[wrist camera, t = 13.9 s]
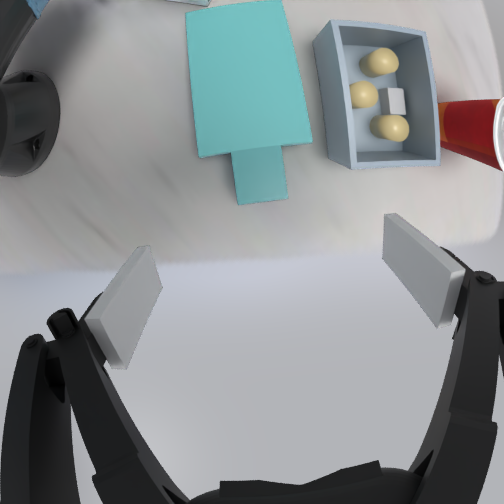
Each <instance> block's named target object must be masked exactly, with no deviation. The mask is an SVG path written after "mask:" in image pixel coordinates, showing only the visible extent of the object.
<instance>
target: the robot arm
mask: <svg viewBox="0 0 504 504" xmlns="http://www.w3.org/2000/svg"><path fill="white" fill-rule="evenodd" d="M48 1H49V0H0V176H9V177H16V176H21V175H23V174H26V173H29V172H31V171H33V170H35V169H36V168H38V167H39V166H40V165H41V164H42V163H43V162H44V160H45V159H46V158H47V156H48V154H49V153H50V151H51V149H52V146H53V144H54V141H55V138H56V135H57V131H58V126H59V116H60V107H59V99H58V94H57V91H56V88H55V86H54V84H53V82H52V81H51V80H50V78H49V77H48V76H46V75H45V74H43V73H41V72H37V71H20V72H16V73H14V74H11V75H9V76H6V77H4V78H3V76H4V74H5V72H6V70H7V68H8V66H9V64H10V62H11V60H12V58H13V56H14V54H15V53H16V51H17V49H18V47H19V46H20V44H21V42H22V41H23V39H24V37H25V36H26V34H27V33H28V31H29V30H30V28H31V27H32V25H33V24H34V22H35V21H36V19H37V20H38V18H39V17H40V16H41V12H42V10H43V9H44V7H45V6H46V4H47V3H48ZM382 259H383V260H384V261H385V263H386V264H387V265H388V266H389V267H390V269H391V270H392V271H393V272H394V273H395V275H396V276H397V277H398V278H399V280H400V281H401V282H402V283H403V285H404V286H405V287H406V288H407V290H408V291H409V292H410V293H411V295H412V296H413V297H414V299H415V300H416V301H417V302H418V304H419V305H420V307H421V308H422V309H423V311H424V312H425V313H426V314H427V316H428V317H429V319H430V320H431V321H432V323H433V324H434V325H435V327H436V328H437V329H440V328H443V327H446V326H449V325H451V322H452V319H453V316H454V314H455V315H456V316H457V317H458V323H457V326H456V329H455V332H454V335H453V337H452V339H453V340H454V341H453V346H452V351H451V355H450V360H449V364H448V368H447V371H446V375H445V379H444V383H443V386H442V389H441V393H440V396H439V399H438V402H437V405H436V409H435V411H434V414H433V417H432V420H431V423H430V425H429V428H428V431H427V433H426V436H425V438H424V441H423V443H422V445H421V448H420V450H419V452H418V454H417V456H416V458H415V460H414V462H413V463H412V465H411V466H410V468H409V470H408V471H406V470H403V469H397V468H381V467H380V464H379V461H378V460H377V461H373V462H370V463H365V464H362V465H358V466H354V467H349V468H344V469H340V470H338V471H336V472H334V473H331V474H329V475H327V476H324V477H322V478H319V479H317V480H314V481H311V482H309V483H306V484H303V485H294V484H283V483H276V482H269V481H262V480H250V481H220V489H217V490H213V491H210V492H207V493H204V494H202V495H199V496H197V497H195V498H193V499H192V500H189V499H188V498H187V497H186V496H185V495H184V494H183V493H182V492H181V490H180V489H179V488H178V487H177V486H176V485H175V484H174V482H173V481H172V480H171V479H170V477H169V475H168V474H167V473H166V471H165V470H164V469H163V467H162V466H161V465H160V463H159V461H158V460H157V459H156V457H155V456H154V454H153V453H152V451H151V450H150V448H149V447H148V445H147V443H146V442H145V440H144V439H143V437H142V435H141V434H140V432H139V431H138V429H137V427H136V426H135V424H134V422H133V420H132V419H131V417H130V415H129V413H128V412H127V410H126V408H125V406H124V404H123V403H122V401H121V399H120V397H119V395H118V393H117V391H116V389H115V387H114V385H113V383H112V381H111V379H110V377H109V375H108V373H107V371H106V369H105V368H104V366H103V365H104V363H105V361H106V360H107V361H108V363H109V364H110V366H111V368H112V369H127V367H128V365H129V363H130V360H131V358H132V355H133V353H134V350H135V348H136V346H137V343H138V341H139V339H140V336H141V334H142V332H143V330H144V327H145V325H146V323H147V320H148V318H149V316H150V313H151V311H152V309H153V307H154V305H155V303H156V301H157V298H158V296H159V294H160V292H161V290H162V288H163V287H162V284H161V281H160V278H159V275H158V272H157V269H156V266H155V262H154V259H153V256H152V252H151V249H150V246H143V247H137V249H136V250H135V251H134V252H133V254H132V255H131V256H130V257H129V259H128V260H127V261H126V263H125V264H124V265H123V266H122V268H121V269H120V270H119V272H118V273H117V274H116V276H115V277H114V279H113V280H112V281H111V282H110V284H109V285H108V287H107V288H106V289H105V291H104V292H102V293H100V294H99V295H98V296H97V297H96V298H95V299H94V300H93V302H92V303H91V305H90V306H89V307H88V308H87V311H85V313H84V314H83V316H82V317H81V319H80V320H79V321H78V320H77V318H76V317H75V314H74V313H73V311H72V309H70V308H63V309H61V310H58V311H57V312H55V313H53V314H52V315H51V316H50V317H49V318H48V320H47V325H48V327H49V329H50V331H51V332H52V334H53V336H54V338H55V339H56V340H53V341H50V342H46V341H45V339H44V338H43V336H42V335H41V334H34V335H32V336H29V337H28V338H27V339H26V340H25V341H24V342H23V344H22V346H21V349H20V352H19V356H18V359H17V364H16V367H15V371H14V375H13V380H12V384H11V389H10V394H9V399H8V404H7V410H6V417H5V424H4V431H3V441H2V452H1V472H0V474H1V475H0V491H1V492H0V494H1V501H0V504H81V503H80V498H79V493H78V487H77V480H76V473H75V465H74V456H73V445H72V430H71V406H72V409H73V412H74V415H75V418H76V421H77V424H78V427H79V430H80V433H81V436H82V438H83V441H84V444H85V446H86V449H87V451H88V454H89V456H90V458H91V461H92V463H93V465H94V468H95V470H96V474H95V475H93V476H92V481H93V483H94V486H95V488H96V490H97V492H98V495H99V497H100V499H101V501H102V502H103V504H477V502H478V499H479V496H480V494H481V491H482V488H483V484H484V482H485V478H486V475H487V472H488V468H489V464H490V461H491V457H492V453H493V449H494V445H495V440H496V435H497V423H496V422H492V414H493V407H494V401H495V394H496V385H497V375H498V361H499V356H500V361H501V366H502V371H503V376H504V282H497V280H496V278H495V277H494V276H493V275H491V274H489V273H487V272H484V271H475V272H474V271H472V270H471V269H470V268H469V267H468V266H467V265H466V264H464V263H463V262H462V261H460V259H459V258H458V257H455V255H454V254H453V253H452V252H450V251H449V250H447V249H445V248H442V247H439V246H438V245H436V244H435V243H434V242H433V241H432V240H430V239H429V238H428V237H427V236H425V235H424V234H423V233H421V232H420V231H419V230H418V229H416V228H415V227H414V226H412V225H411V224H410V223H408V222H407V221H406V220H404V219H403V218H402V217H400V216H399V215H398V214H396V213H393V214H384V236H383V254H382Z"/></svg>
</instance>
